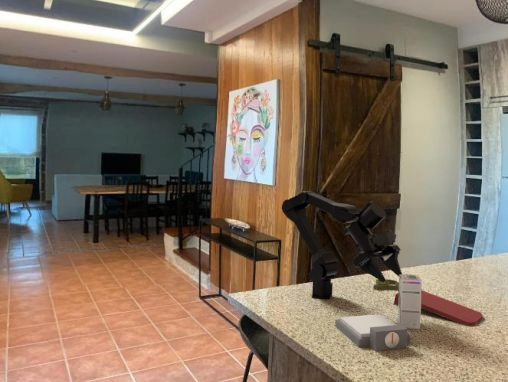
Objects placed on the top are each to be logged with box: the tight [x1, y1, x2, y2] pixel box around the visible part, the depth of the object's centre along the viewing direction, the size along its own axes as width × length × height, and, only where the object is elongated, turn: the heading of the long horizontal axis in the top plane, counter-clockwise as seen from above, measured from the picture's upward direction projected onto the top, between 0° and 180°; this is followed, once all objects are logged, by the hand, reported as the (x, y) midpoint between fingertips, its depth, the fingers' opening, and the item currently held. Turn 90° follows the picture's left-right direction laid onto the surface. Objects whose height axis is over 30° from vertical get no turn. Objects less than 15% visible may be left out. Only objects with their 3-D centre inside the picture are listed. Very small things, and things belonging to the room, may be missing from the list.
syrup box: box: [397, 273, 423, 330], centre depth 125 cm, size 6×6×14 cm
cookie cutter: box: [373, 278, 423, 292], centre depth 161 cm, size 18×12×2 cm, turn 56°
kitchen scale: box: [334, 313, 411, 352], centre depth 116 cm, size 18×15×5 cm
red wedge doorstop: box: [393, 289, 483, 327], centre depth 138 cm, size 12×5×25 cm
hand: (392, 278), depth 129 cm, fingers open, 9 cm apart
